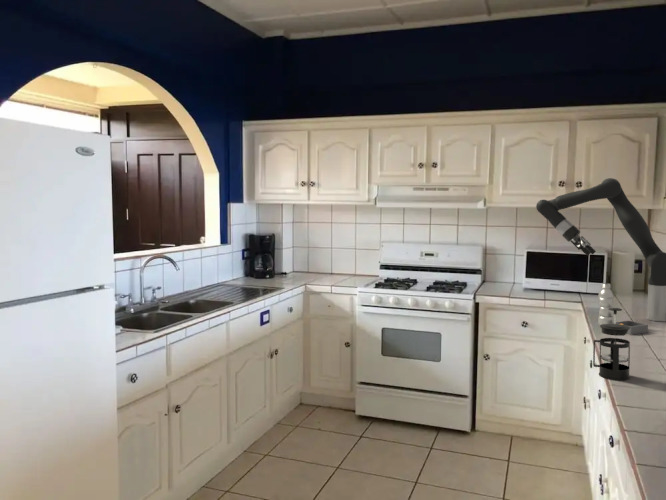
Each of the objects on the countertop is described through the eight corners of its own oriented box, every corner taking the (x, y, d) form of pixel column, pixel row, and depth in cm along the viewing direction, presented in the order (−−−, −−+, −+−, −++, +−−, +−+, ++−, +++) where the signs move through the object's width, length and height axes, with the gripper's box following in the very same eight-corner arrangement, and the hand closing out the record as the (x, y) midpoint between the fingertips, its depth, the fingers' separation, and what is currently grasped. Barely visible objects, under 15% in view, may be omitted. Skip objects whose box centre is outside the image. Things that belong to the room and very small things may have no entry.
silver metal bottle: (605, 328, 258) (606, 285, 256) (594, 325, 264) (595, 283, 263) (617, 327, 260) (617, 284, 258) (606, 324, 266) (606, 282, 265)
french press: (630, 373, 191) (631, 306, 189) (634, 381, 182) (635, 311, 180) (592, 370, 195) (593, 305, 193) (594, 378, 186) (594, 309, 184)
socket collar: (628, 328, 258) (628, 319, 257) (647, 332, 248) (648, 323, 248) (612, 330, 254) (612, 321, 254) (630, 334, 245) (630, 325, 244)
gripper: (568, 225, 274) (593, 249, 268) (577, 224, 285) (601, 247, 279) (557, 236, 278) (581, 260, 272) (566, 234, 289) (590, 257, 283)
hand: (591, 253), depth 275 cm, fingers open, 8 cm apart
